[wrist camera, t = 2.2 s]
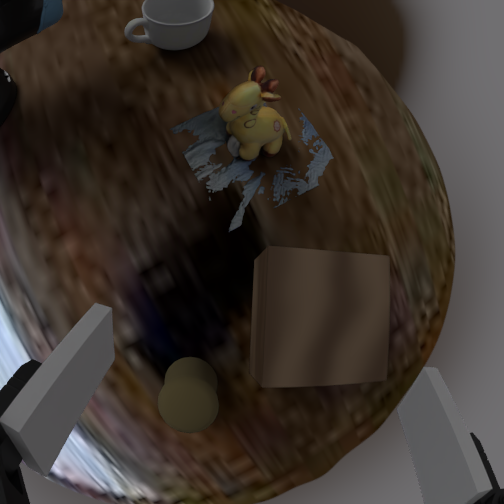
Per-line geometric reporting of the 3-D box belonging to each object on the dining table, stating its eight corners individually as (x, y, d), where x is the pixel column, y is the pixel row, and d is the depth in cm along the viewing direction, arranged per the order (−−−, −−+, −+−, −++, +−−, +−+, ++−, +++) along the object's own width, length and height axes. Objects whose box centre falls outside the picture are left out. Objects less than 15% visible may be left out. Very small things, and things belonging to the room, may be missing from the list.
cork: (154, 375, 33) (135, 399, 22) (196, 346, 35) (194, 359, 24) (186, 416, 33) (182, 454, 22) (228, 388, 34) (240, 416, 24)
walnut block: (249, 372, 35) (262, 387, 27) (254, 260, 38) (268, 245, 30) (352, 370, 37) (386, 380, 29) (355, 267, 39) (389, 255, 32)
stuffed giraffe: (169, 129, 39) (167, 44, 24) (280, 89, 44) (317, 14, 29) (227, 233, 38) (256, 183, 23) (339, 176, 43) (405, 119, 28)
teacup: (197, 15, 45) (199, -19, 37) (221, 49, 43) (226, 12, 36) (121, 37, 41) (114, 3, 34) (136, 74, 40) (129, 37, 32)
